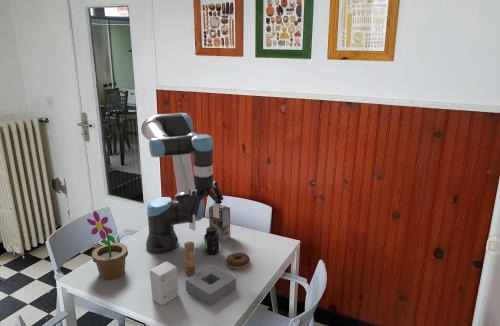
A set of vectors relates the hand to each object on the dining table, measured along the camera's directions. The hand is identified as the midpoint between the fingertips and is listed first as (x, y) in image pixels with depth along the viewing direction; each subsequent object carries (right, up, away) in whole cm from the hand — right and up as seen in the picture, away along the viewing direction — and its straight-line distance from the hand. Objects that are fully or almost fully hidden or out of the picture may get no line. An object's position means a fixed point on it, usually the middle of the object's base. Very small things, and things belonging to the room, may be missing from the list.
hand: (204, 223), depth 157 cm
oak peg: (-7, -22, +6) cm, 24 cm away
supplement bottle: (+1, -17, +23) cm, 29 cm away
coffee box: (+3, -13, +37) cm, 40 cm away
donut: (+13, -21, +14) cm, 28 cm away
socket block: (+3, -26, -5) cm, 26 cm away
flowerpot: (-40, -22, +6) cm, 46 cm away
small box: (-14, -27, -9) cm, 32 cm away
